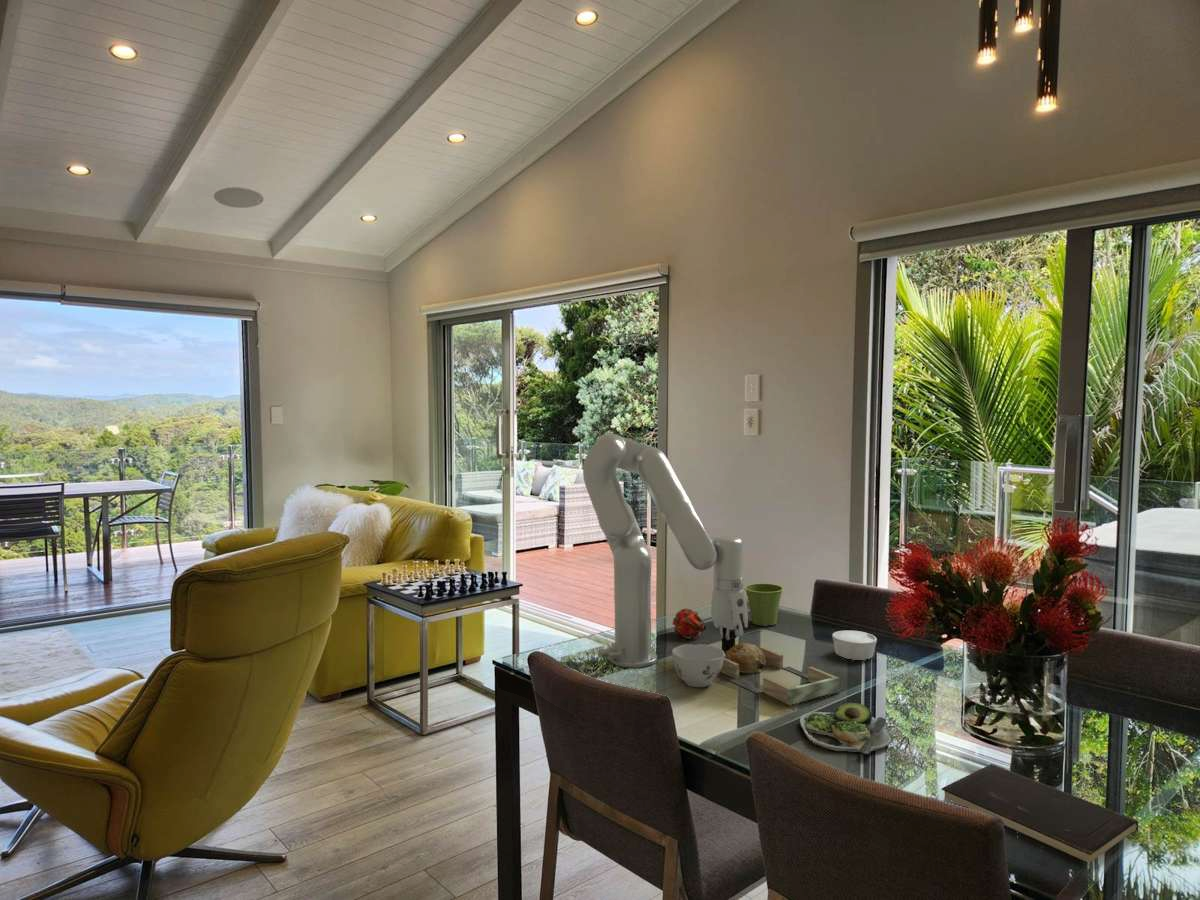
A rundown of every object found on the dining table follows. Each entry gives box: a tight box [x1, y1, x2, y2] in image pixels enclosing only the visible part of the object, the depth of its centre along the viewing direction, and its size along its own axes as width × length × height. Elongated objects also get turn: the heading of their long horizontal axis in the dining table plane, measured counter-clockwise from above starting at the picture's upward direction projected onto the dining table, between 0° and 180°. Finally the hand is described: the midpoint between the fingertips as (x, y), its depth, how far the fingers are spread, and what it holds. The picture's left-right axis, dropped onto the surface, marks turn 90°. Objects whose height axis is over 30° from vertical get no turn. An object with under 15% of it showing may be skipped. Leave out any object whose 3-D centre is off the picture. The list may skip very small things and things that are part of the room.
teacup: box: [671, 643, 725, 688], centre depth 184 cm, size 15×12×8 cm
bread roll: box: [724, 642, 767, 674], centre depth 194 cm, size 10×10×8 cm
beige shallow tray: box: [719, 646, 841, 706], centre depth 184 cm, size 19×27×4 cm
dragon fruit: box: [672, 608, 707, 640], centre depth 221 cm, size 8×8×12 cm
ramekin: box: [831, 629, 878, 661], centre depth 203 cm, size 11×11×5 cm
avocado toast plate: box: [799, 702, 892, 755], centre depth 152 cm, size 19×18×5 cm
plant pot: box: [743, 582, 785, 627], centre depth 233 cm, size 12×12×11 cm
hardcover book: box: [941, 763, 1139, 864], centre depth 124 cm, size 16×23×2 cm
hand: (728, 652), depth 200 cm, fingers closed
